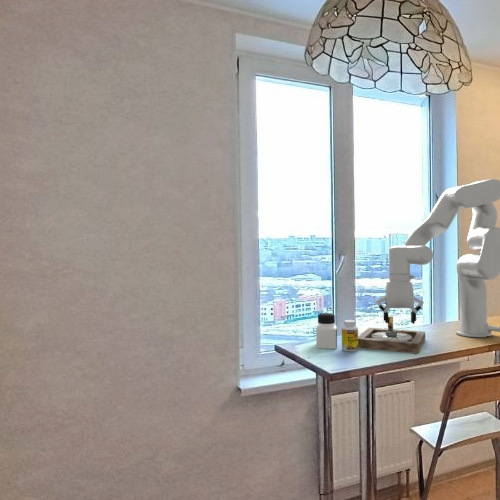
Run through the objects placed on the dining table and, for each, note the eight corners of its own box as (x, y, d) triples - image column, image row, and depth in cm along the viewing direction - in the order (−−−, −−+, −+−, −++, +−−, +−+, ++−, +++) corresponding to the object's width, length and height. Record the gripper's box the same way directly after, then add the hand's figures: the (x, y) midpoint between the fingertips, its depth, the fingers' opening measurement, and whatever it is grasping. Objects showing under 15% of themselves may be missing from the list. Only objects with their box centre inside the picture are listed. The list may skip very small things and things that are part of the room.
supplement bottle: (346, 352, 149) (346, 322, 149) (339, 348, 154) (338, 320, 154) (361, 351, 150) (360, 321, 150) (353, 347, 156) (352, 318, 155)
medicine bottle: (336, 349, 154) (336, 315, 154) (316, 348, 155) (315, 315, 155) (337, 344, 161) (336, 311, 161) (317, 343, 162) (316, 311, 162)
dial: (413, 345, 151) (413, 324, 151) (371, 343, 155) (371, 323, 155) (409, 335, 167) (409, 316, 167) (371, 334, 171) (371, 315, 171)
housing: (425, 340, 164) (425, 331, 164) (418, 353, 146) (418, 343, 146) (368, 335, 174) (368, 327, 174) (355, 347, 155) (355, 338, 155)
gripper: (420, 277, 169) (421, 321, 170) (374, 277, 172) (375, 320, 172) (425, 279, 162) (425, 325, 162) (377, 279, 165) (377, 324, 165)
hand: (399, 322), depth 167 cm, fingers open, 9 cm apart
